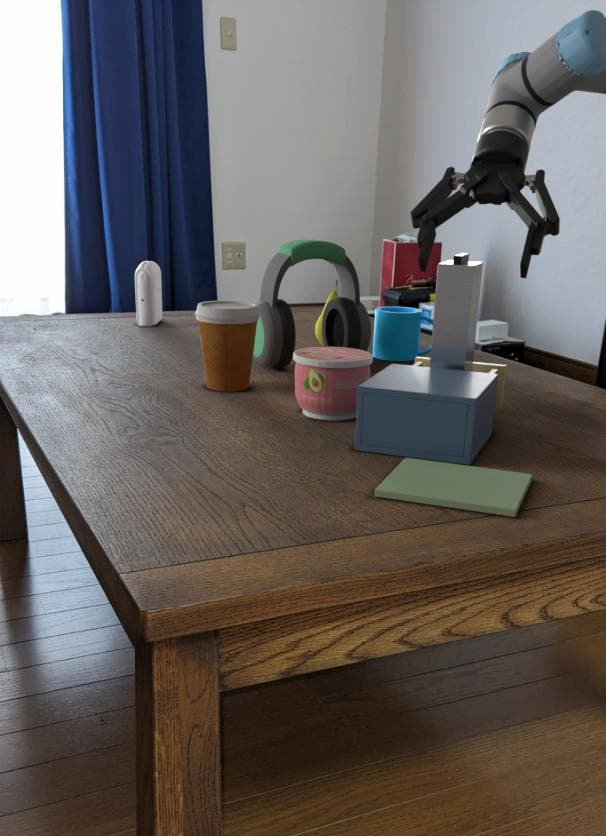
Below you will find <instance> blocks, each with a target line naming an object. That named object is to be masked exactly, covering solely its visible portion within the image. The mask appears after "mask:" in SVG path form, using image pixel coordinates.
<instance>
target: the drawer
mask: <svg viewBox="0 0 606 836" xmlns="http://www.w3.org/2000/svg"><path fill="white" fill-rule="evenodd" d="M411 366H420V367H430V357H427V356H419V357H416V358H415V360H414V363H413V364H412V365H411ZM507 366H508V365H507V364H502V363H501V364H500V363H490V362H481V361H473V369H472V372H481V373H492V374H498V380H497V381H498V382H497V391H496V400H495V409H500V410H501V409H502V407H503V402H504V395H505V386H506V385H505V384H506V375H507V374H506V373H507V369H508V368H507Z"/></svg>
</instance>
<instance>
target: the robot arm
mask: <svg viewBox="0 0 606 836" xmlns="http://www.w3.org/2000/svg"><path fill="white" fill-rule="evenodd" d="M574 92H582V93H583V92H584V93H593V94H601V95H606V16H605V15H604V13H603V12H602V11H600V10H595V9H591V10H587V11H584V12H583V13H582V14H580V15H578V16H577V17H576V18H574V19H572V20H570V21H569V22H568V23H566V24H564V25H563V26H562V27H561V29H559V30H558V31H557V32H556V33H554V34H553V35H552V36H550V38H548V39H547V40H545V42H543V43H542V44H541V45H540V46H538V47H537V48H535V50H533V51H532V52H529V51H520V52H518V53H512V54H509V55H508V56H507V57H505V58H504V60H502V61H501V63H500V64H499V67H498V69H497V71H496V74H495V76H494V79H493V80H492V84H491V86H490V91H489V96H488V101H487V104H486V108H485V112H484V115H483V120H482V124H481V127H480V130H479V133H478V137H477V141H476V142H477V143H476V145H475V148H474V152H473V155H472V159H471V162H470V167H469V169H468V170H467V171H466V172H458V171H456V169H455V167H454V166H449V167H447V168H446V169H445V172H444V174H443V176H442V178H441V179H440V180H439V181H438V182H437V183H436V185H435V186H434V187H433V188H432V189H431V190H430V191H429V192H428V193H427V194H426V195H425V196H424V197H423V199H421V200H420V201H419V203H418V204H417V205H416V206H415V207H414V208H413V209H412V210H411V211H410V213H409V214H410V220H411V227H412V228H413V229H415V230H416V229H417V230H418V229H419V230H418V233H417V237H416V241H417V242H416V243H417V247H418V249H420V250H419V254H418V256H417V260H418V266H419V271H420V272H421V273H422V272H423V273H424V272H425V273H426V272H427V268H428V265H429V262H430V258H431V255H432V251H433V248H434V244H435V241H436V237H437V230H436V229H437V228H438V227H440V226H442V225H443V224H444V223H446V222H448V221H449V220H450V219H452V218H453V217H454V216H456V215H457V214H459V213H460V212H462V211H463V210H464V209H469V208H472V206H474V205H476V204H477V203H478V205H495V206H502V204H504V203H505V204H506V205H507V206H508V207H509V209H510V210H511V211H514V212H515V213H516V215H517V216H518V217H519V219H521V221H522V222H523V223H524V224H525V226H526V227H527V228H528V229H527V233H526V237H525V241H524V245H523V251H522V255H521V259H520V263H519V269H520V270H519V274H520V279H527V277H528V273H529V267H530V264H531V260H532V256H539V255H540V254H541V252H542V247H543V243H544V239H545V237H546V236H549V235H550V236H552V237H555V236H558V235H559V234H560V227H561V225H560V223H561V220H560V219H561V218H560V216H559V213H558V211H557V209H556V206H555V204H554V202H553V199H552V197H551V194H550V192H549V190H548V188H547V184H546V171H545V169H538V170H536V172H535V174H527V175H526V174H525V171H526V168H527V163H528V160H529V157H530V156H529V154H530V151H531V149H532V148H531V147H532V143H533V139H534V135H535V131H536V127H537V122H538V119H539V117H540V115H541V114H543V113H544V112H546V110H548V109H549V108H551V107H553V106H554V105H556V104H557V103H559V102H560V101H561V100H563V99H564V98H566V97H567V96H569V95H570V94H571V93H574ZM459 186H460V187H459ZM458 187H459V189H458ZM525 187H528V188H529V190H530V191H531V193H532V194H534V195H535V196H534V197H535V199H536V202H537V205H538V208H539V210H540V212H541V214H540V213H539V212H538V211H537V210H536V208H534V206H533V205H532V204H531V203H530V201H529V200H528V199H527V197H526V196H525V195H524V194H523V193H522V192H521V191H522V190H523V189H524V188H525ZM453 191H455V192H454V193H453Z"/></svg>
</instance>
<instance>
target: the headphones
mask: <svg viewBox="0 0 606 836" xmlns="http://www.w3.org/2000/svg"><path fill="white" fill-rule="evenodd" d="M309 260H324V261H326V262H328V263H329V264H331V265H332V266H333V267H334V268H335V270H336V273H337V275H338V279H339V284H340V296H339V297H335V298H333V299H331V300H330V301H329V302H328V303H327V305H326V307H325V306H324V307H325V310H324V313H323V319H322V339H323V344H324V346H323V347H345V348H354V349H359V350H363V351H367V352H368V350H369V346H370V344H371V339H372V324H371V318H370V314H369V312H368V309H367V307H366V306H365V304H364V303H363V302H362V301H361V295H360V294H361V292H360V291H361V290H360V282H359V277H358V273H357V270H356V267H355V265H354V263H353V261H352V260H351V259H350V258H349V256H348V255H346V249H345V248H344V247H342V246H341V245H339V244H337V243H334V242H331V241H328V240H327V241H326V240H320V239H314V238H300V239H295V240H291V241H288V242H285V243H283V244H282V245H280V246H279V247H278V249H277V253H276V254H275V255H273V257H272V258H271V260H270V261H269V263H268V264H267V266H266V269H265V271H264V274H263V278H262V282H261V287H260V297H259V302H257V303H256V304H257V307H258V311H259V313H260V317H259V320H258V321H257V328H256V336H255V344H254V351H253V359H254V361H255V363H257V364H259V365H260V366H261V367H264V368H265V367H266V368H269V367H270V368H274V369H282V368H286V367H287V366H289V365H290V363H291V362H292V360H293V353H294V352H295V351H296V350H295V349H296V340H297V335H296V334H297V333H296V331H297V330H296V324H295V319H294V314H293V312H292V309H291V306H290V304H289V303H288V302H287V301H285V299H282V298H279V293H280V287H281V284H282V281H283V278H284V276H285V274H286V273H287V271H288V270H289V268H290V267H294V266H296V265H297V264H299V263H301V262H304V261H309Z"/></svg>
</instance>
